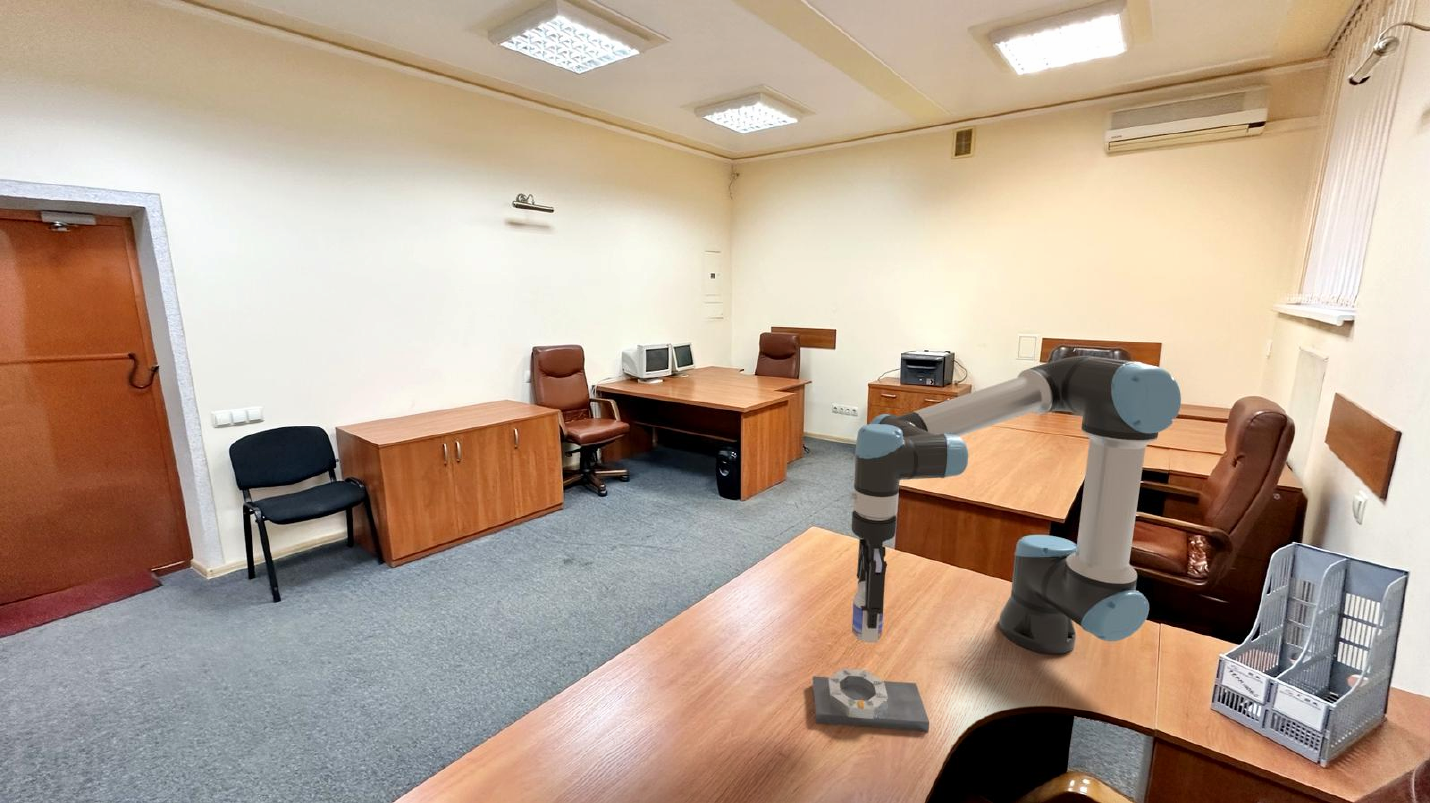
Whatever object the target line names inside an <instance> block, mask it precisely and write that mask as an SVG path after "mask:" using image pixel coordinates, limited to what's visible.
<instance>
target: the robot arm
mask: <svg viewBox="0 0 1430 803" xmlns="http://www.w3.org/2000/svg"><path fill="white" fill-rule="evenodd" d="M1181 403H1182V396H1181V389H1180V386H1179V385H1178V382H1177V380H1176V379H1175V378H1174V377H1173V376H1171V374H1170V372H1169V371H1168V370H1165V369H1164V368H1162V367H1161V366H1160V367H1159V366H1155V365H1151V364H1147V363H1144V362H1141V361H1134V360H1133V361H1132V360H1125V359H1124V360H1123V359H1116V358H1115V359H1114V358H1107V357H1100V356H1093V355H1077V356H1070V357H1065V358H1060V359H1057V360H1054V361H1050V362H1046V363H1042V364H1040V365H1036V366H1033V367H1031V368H1026V369H1023V370H1022V371H1020V372H1019V373H1018V375H1017V377H1016V378H1012V379H1009V380H1007V381H1004V382H1000V383H997V384H995V385H990V386H988V387H986V388H981V389H979V390H975V391H973V392H969V393H967V394H964V395H961V396H958V397H954V398H952V399H947V400H945V401H942V402H939V403H936V404H933V405H930V406H927V407H923V408H921V409H920V408H919V409H918V410H915V411H912V412H908V413H906V414H901V415H898V416H896V415H893V414H887V413H882V414H879V415H877V416H875V417H874V418H872V419H871V421H870V423H868V424H865V425H863V426H862V427H860V428H859V430H858V432H857V437H856V442H855V449H854V455H855V458H854V459H855V462H854V463H855V464H854V484H853V491H854V492H852V493H850V494H849V495H850V496H849V498H850V499H853V500H852V509H853V511H852V513H851V532H852V533H853V534H854V535H856V536H857V537H858V538H859V539H858V541H859V542H858V552H857V553H858V554H857V557H858V558H857V569H856V570H857V571H856V578H857V579H858V582H857V585H858V584H859V583H860V582H862V581H866V583H865V606H861V610H862V611H863V622H862V638H861V639H862V641H861V642H864V643H877V644H878V641H879V640H878V629H879V615H880V614H883V615H884V608H883V602H884V601H885V600H884V599H885V586H886V585H885V582H886V581H885V580H886V572H887V566H888V563H887V561H886V560H885V557H886V551H887V550H886V546H884V545H883V543H884V542H886V541H890V540H891V539H893V538H894V537H895V536H896V530H897V529H896V528H897V516H896V515H897V514H898V509H899V508H898V506H899V493H900V492H899V490H900V489H899V488H900V481H907V480H908V481H909V480H919V479H920V480H922V479H939V478H941V479H946V478H949V477H956V476H960V475H962V474H963V473H964V472H965V471H966V470H967V467H968V464H969V462H968V461H969V450H968V446H967V445H966V442H965V441H964V440H963V438H962V437H961V436H964V435H967V434H969V433H974V432H975V431H979V430H982V429H984V428H988V427H991V426H994V425H997V424H1000V423H1003V422H1007V421H1009V420H1012V419H1013V420H1014V419H1015V418H1019V417H1021V416H1025V415H1027V414H1030V413H1032V414H1034V415H1044V414H1047V413H1051V412H1070V413H1075V414H1078V415H1081V416H1082V419H1081V420H1082V421H1081V432H1083V435H1084V434H1085V436H1086V437H1087V438H1088V439H1089V442H1088V450H1087V458H1086V468H1085V475H1084V476H1085V477H1084V485H1083V491H1082V492H1083V493H1082V501H1081V508H1080V509H1081V510H1080V515H1079V524H1078V525H1079V526H1078V535H1077V543H1075V542H1074V541H1071V540H1070V539H1066V538H1063V537H1060V536H1054V535H1047V534H1029V535H1026V536H1022V537H1021V538H1019V539H1018V541H1017V543H1016V546H1015V547H1016V548H1015V552H1014V558H1013V559H1014V560H1013V567H1012V568H1013V570H1012V578H1011V579H1012V580H1011V591H1010V596H1009V597H1008V600H1007V601H1006V603H1005V604H1004V607H1003V608H1002V610H1001V612H1000V614H999V619H998V620H999V621H998V626H999V629H1000V631H1001V632H1002V634H1003V635H1004V636H1005V637H1006V638H1008V639H1009V640H1011V642H1014V643H1015V645H1019V646H1021V647H1022V648H1025V649H1028V650H1030V651H1032V652H1033V651H1034V652H1037V653H1041V654H1048V655H1049V654H1050V655H1061V654H1066V653H1069V652H1071V651H1072V650H1073V649H1074V647H1075V645H1076V639H1077V638H1076V637H1077V634H1076V630H1075V626H1074V623H1075V624H1077V625H1078V626H1079V627H1081V628H1082V630H1083V631H1084V632H1087V633H1090V634H1091V635H1092V636H1094V637H1095V638H1097V639H1099V640H1102V641H1104V642H1119V641H1122V640H1125V639H1126V638H1129V637H1131V636H1132V635H1134V633H1136V632H1137V631H1139V629H1140V628H1142V626H1143V624H1144V623H1145V621H1146V620H1147V618H1148V615H1149V611H1150V603H1149V601H1148V599H1147V598H1146V596H1144V594H1143V593H1142V592H1140V591H1139V590H1136V587H1137V581H1138V580H1137V579H1138V573H1137V571H1136V570H1135V568H1134V567H1133V566H1132V565H1131V564H1130V558H1131V551H1132V545H1133V538H1134V532H1135V531H1134V529H1135V524H1136V516H1137V510H1138V509H1137V508H1138V503H1139V502H1138V501H1139V494H1140V487H1141V482H1142V473H1143V466H1144V461H1145V460H1144V459H1145V453H1146V446H1148V445H1149V444H1151V443H1152V442H1155V441H1156V440H1158V438H1159V433H1160V432H1163V431H1165V430H1166V429H1168V428H1169V427H1170V426H1171V425H1172V424H1173V420H1174V419H1176V418H1177V417H1178V415H1179V413H1180V410H1181V405H1182V404H1181Z"/></svg>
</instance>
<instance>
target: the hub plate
mask: <svg viewBox="0 0 1430 803" xmlns="http://www.w3.org/2000/svg"><path fill="white" fill-rule="evenodd" d="M812 693H813V705H814V716H815V724H822V725H823V724H825V725H837V726H847V727H848V726H849V727H850V726H851V727H862V728H863V727H864V728H878V729H887V730H889V729H891V730H903V731H915V732H927V733H928V732H929V729H930V720H929V717H928V714H927V712H926V709H925V705H924V703H923V699H922V696H921V694H920V692H919V688H918V685H917V683H916V682H905V681H890V680H882V679H880V678H878V676H875V675H874V674H872V673H871V672H869V671H867V670H865V669H854V668H842V669H840V670H838V671H837V672H835V673H833V674H832V675H830V676H829V677H828V676H815V675H814V676H812Z"/></svg>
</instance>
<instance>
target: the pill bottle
mask: <svg viewBox="0 0 1430 803" xmlns="http://www.w3.org/2000/svg"><path fill="white" fill-rule="evenodd" d="M865 583H866V581H862V582H860V583H859V584H858V583H857V592H856V593H855V594H854V595H853V598H852V621H851V633H852V635H853V636H854V638H856V639H857V640H859V641H861V642H862V639H861V638H862V622H863V611H862V610H861V606H865ZM884 606H885V605H884V602H883V609H884V608H885V607H884ZM883 623H884V613H883V614H880V615H879V629H878V641H880V640H881V638H882V636H883V635H882V634H883V625H884V624H883Z"/></svg>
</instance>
